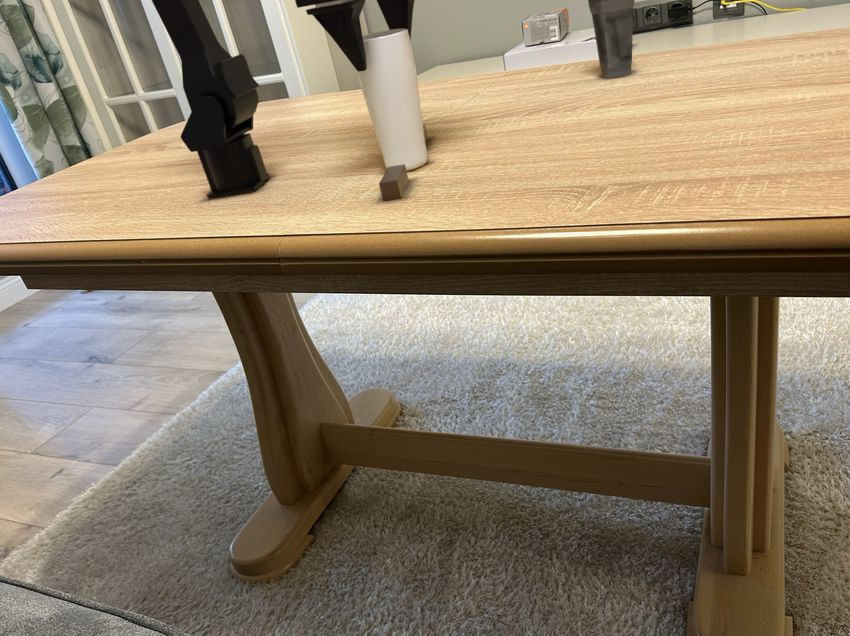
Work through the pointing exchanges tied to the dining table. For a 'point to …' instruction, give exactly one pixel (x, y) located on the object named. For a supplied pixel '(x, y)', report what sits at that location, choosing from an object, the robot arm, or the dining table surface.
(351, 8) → the robot arm
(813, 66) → the dining table surface
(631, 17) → the beverage cup
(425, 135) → the far stick
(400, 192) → the near stick
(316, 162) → the dining table surface
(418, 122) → the drinking glass
